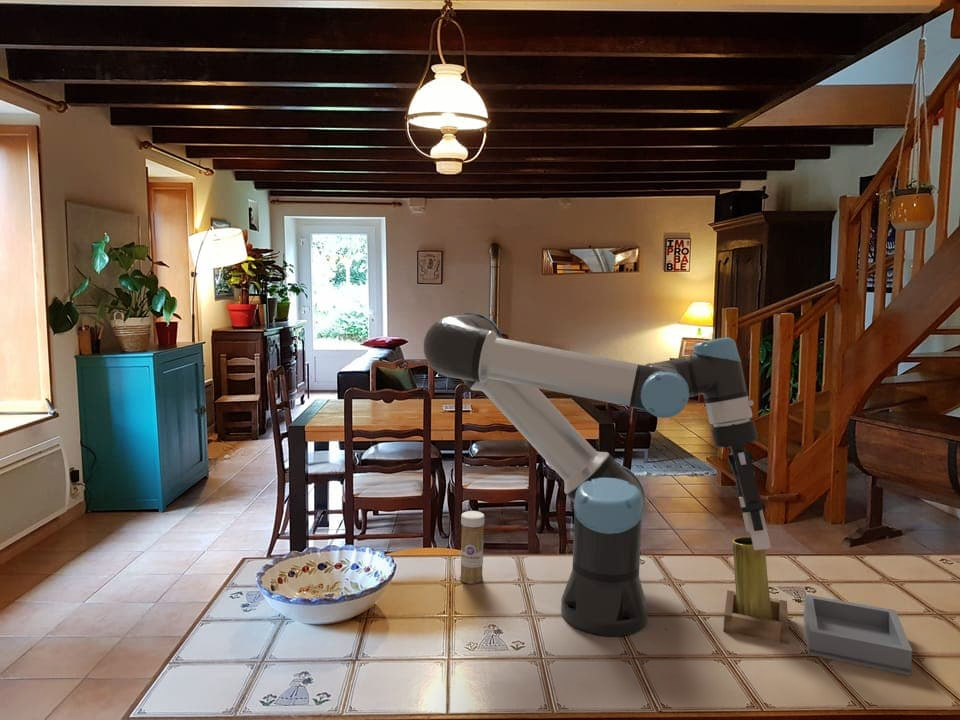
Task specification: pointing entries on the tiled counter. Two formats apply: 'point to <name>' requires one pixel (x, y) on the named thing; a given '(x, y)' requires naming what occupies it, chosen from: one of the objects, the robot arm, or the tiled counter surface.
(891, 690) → the tiled counter surface
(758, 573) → the vase
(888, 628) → the tray
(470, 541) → the sprinkles bottle
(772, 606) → the socket
